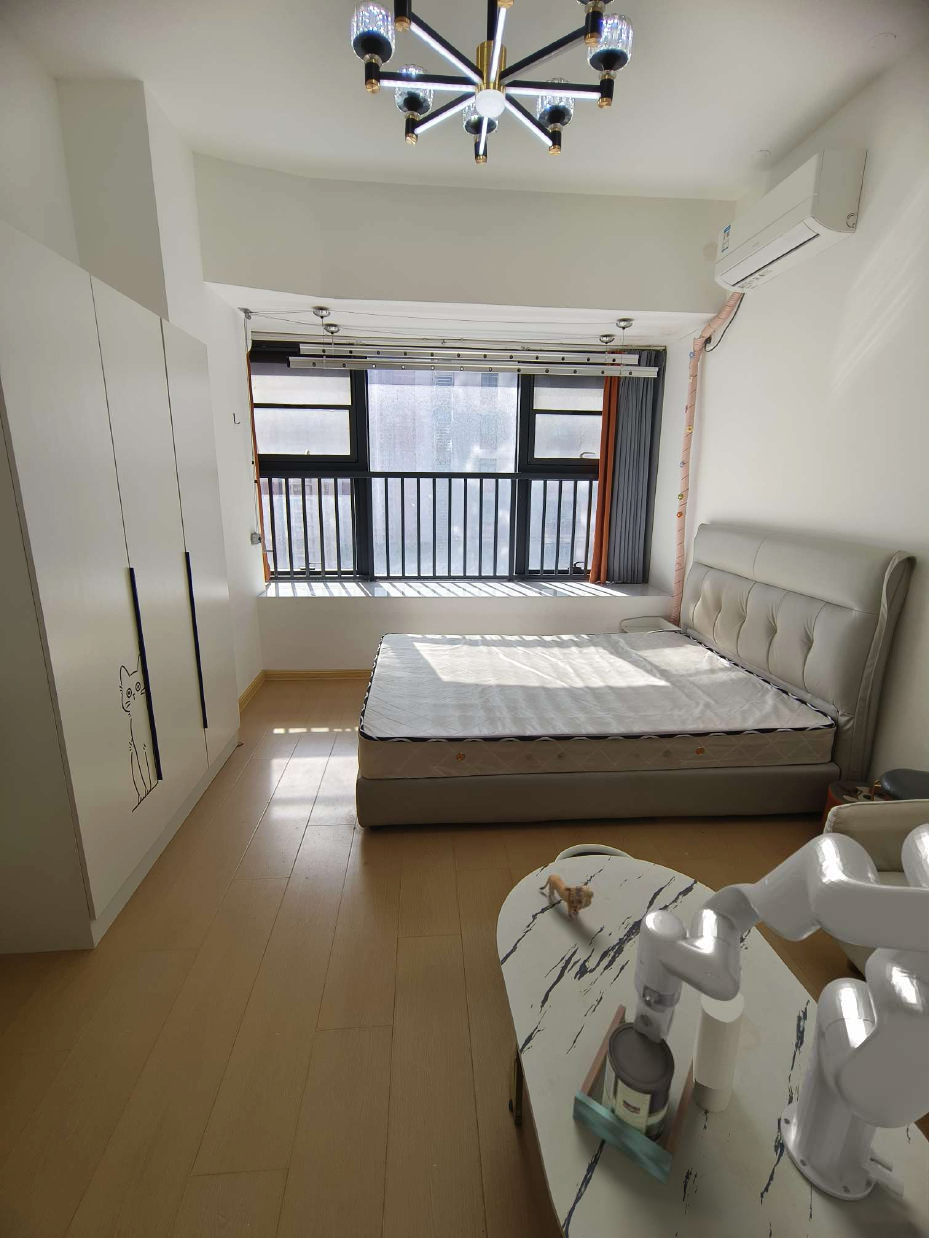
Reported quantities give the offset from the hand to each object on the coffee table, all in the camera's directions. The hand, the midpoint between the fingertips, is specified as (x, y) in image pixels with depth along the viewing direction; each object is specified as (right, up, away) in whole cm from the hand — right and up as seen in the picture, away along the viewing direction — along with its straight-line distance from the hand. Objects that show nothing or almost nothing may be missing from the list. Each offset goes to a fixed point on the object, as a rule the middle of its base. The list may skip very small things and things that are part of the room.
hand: (646, 1058), depth 98 cm
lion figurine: (-8, +8, +36) cm, 38 cm away
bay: (-2, -3, -2) cm, 4 cm away
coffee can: (-4, -5, -6) cm, 8 cm away
